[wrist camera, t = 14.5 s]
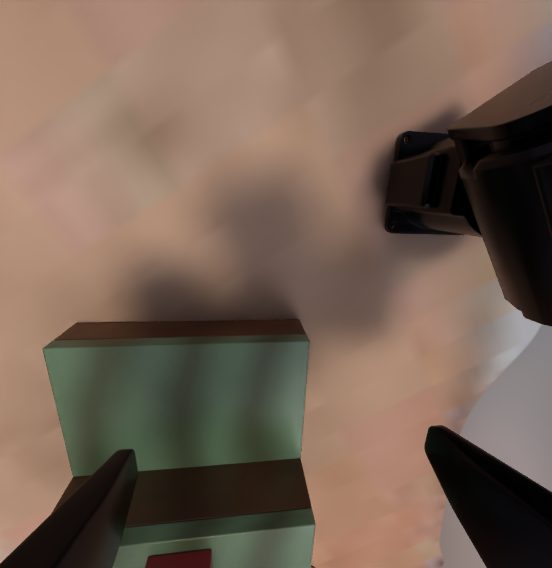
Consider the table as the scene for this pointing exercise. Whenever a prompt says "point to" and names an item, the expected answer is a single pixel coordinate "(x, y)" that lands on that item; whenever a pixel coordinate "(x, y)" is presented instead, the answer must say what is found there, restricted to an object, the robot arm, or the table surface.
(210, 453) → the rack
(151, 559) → the red rectangular block
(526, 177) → the robot arm
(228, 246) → the table surface
